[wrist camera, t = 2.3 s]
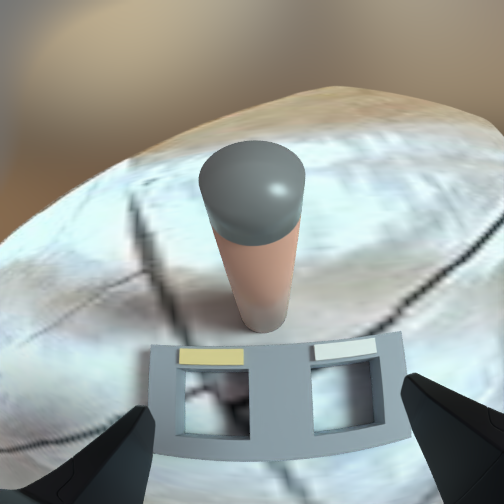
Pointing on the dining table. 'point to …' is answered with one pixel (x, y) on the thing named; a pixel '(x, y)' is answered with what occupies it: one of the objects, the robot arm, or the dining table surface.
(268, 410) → the socket plate
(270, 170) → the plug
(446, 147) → the dining table surface
